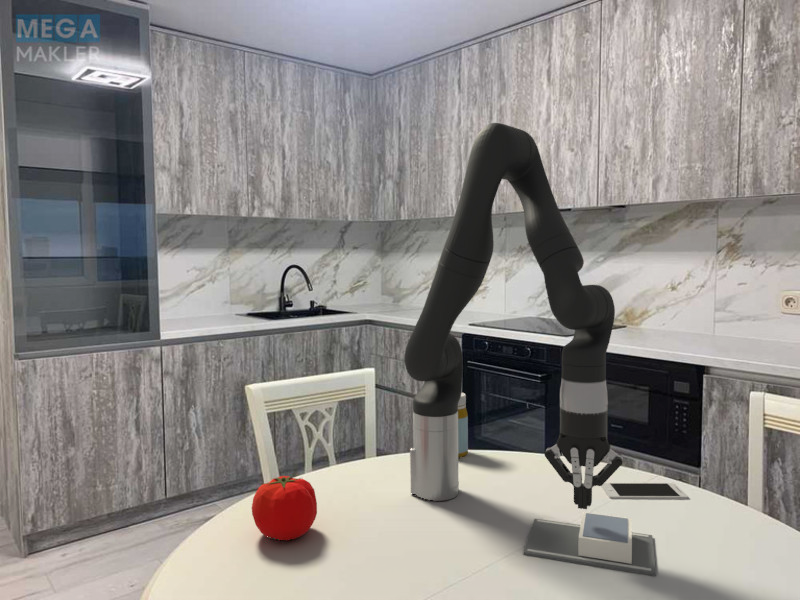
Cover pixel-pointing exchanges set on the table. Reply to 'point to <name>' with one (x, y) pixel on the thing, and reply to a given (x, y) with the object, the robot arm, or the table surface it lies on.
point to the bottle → (462, 427)
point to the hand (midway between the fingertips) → (583, 507)
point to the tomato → (284, 508)
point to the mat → (563, 546)
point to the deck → (605, 537)
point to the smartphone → (643, 491)
